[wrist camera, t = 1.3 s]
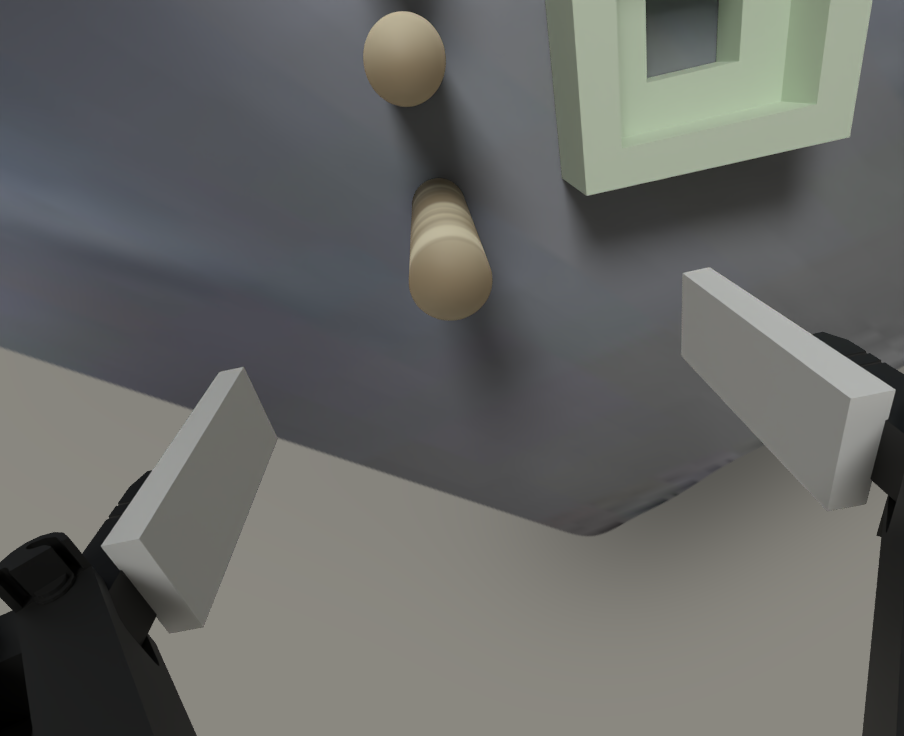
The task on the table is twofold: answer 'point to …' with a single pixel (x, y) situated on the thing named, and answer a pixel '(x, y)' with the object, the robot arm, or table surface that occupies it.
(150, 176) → the table surface
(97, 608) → the robot arm
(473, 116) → the table surface
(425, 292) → the long birch dowel
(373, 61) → the medium birch dowel
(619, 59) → the sage socket block
